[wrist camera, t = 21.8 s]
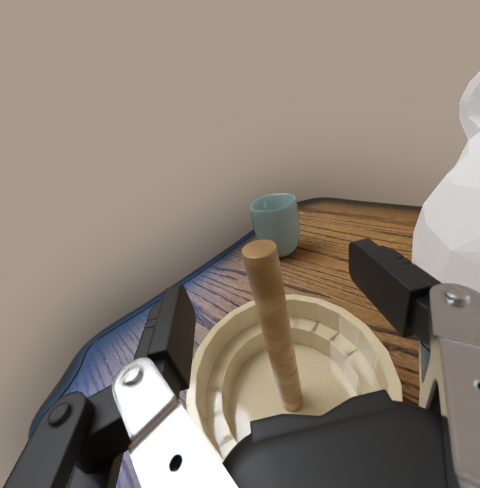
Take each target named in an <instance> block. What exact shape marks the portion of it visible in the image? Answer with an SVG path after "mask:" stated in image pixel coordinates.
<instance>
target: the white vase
mask: <svg viewBox="0 0 480 488" xmlns="http://www.w3.org/2000/svg"><path fill="white" fill-rule="evenodd" d="M459 120H460V122H461V124H462V126H463V129H464V131H465V133H466V136H467V138H468V142H467V144H466V146H465V148H464V150H463V152H462V154H461V156H460V158H459V160H458V162H457V164H456V166H455V167H454V168H453V169H452V170H451V171H450V172H449V173H448V174H447V175H446V176H445V177H444V178H443V180H442V181H441V182H440V184H439V185H438V186H437V187H436V189H435V190H434V191H433V193H432V194H431V195H430V196H429V198H428V199H427V200H426V201H425V203H424V204H423V207H422V209H421V212H420V215H419V218H418V221H417V224H416V227H415V229H414V232H413V248H412V264H415V265H417V266H418V267H420V268H421V269H423V270H424V271H426V272H427V273H428V274H430V275H431V276H433V277H434V278H436V279H437V280H438V281H440V282H441V283H453V284H459V285H463V286H466V287H469V288H471V289H474V290H476V291H477V292H479V293H480V71H479V72H478V73H477V75H476V76H475V77H474V78H473V79H472V80H471V81H470V82H469V84H468V86H467V88H466V90H465V92H464V94H463V96H462V98H461V99H460V114H459Z"/></svg>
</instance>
